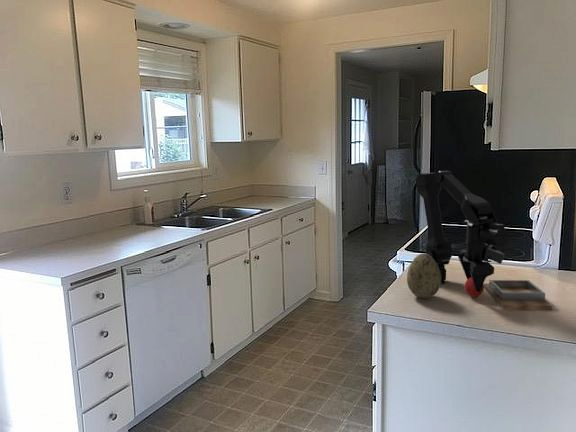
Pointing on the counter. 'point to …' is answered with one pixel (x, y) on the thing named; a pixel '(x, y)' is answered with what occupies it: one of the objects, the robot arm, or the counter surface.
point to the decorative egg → (424, 276)
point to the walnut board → (518, 304)
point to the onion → (472, 288)
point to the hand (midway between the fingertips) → (473, 286)
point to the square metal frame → (516, 296)
